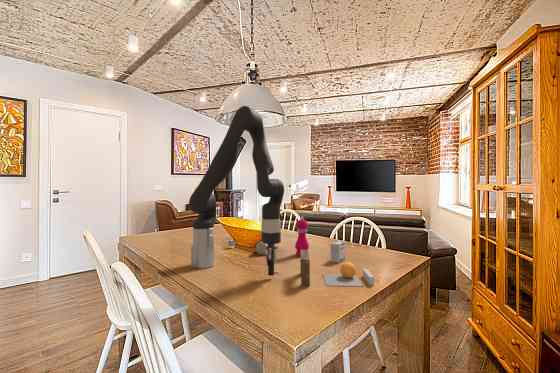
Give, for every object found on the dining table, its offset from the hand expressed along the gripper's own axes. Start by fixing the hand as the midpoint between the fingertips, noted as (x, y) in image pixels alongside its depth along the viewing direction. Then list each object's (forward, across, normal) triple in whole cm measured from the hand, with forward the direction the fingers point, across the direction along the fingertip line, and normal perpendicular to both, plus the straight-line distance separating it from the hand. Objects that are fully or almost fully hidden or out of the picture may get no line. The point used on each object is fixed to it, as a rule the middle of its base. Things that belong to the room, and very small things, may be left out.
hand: (271, 275), depth 107 cm
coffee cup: (+2, -52, -27) cm, 58 cm away
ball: (-2, -3, +30) cm, 30 cm away
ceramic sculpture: (+2, -42, -7) cm, 43 cm away
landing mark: (+2, 0, +27) cm, 27 cm away
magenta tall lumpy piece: (+2, -38, +13) cm, 40 cm away
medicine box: (+2, -28, +30) cm, 41 cm away
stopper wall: (+2, 0, +37) cm, 37 cm away
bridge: (+2, 0, +13) cm, 13 cm away
